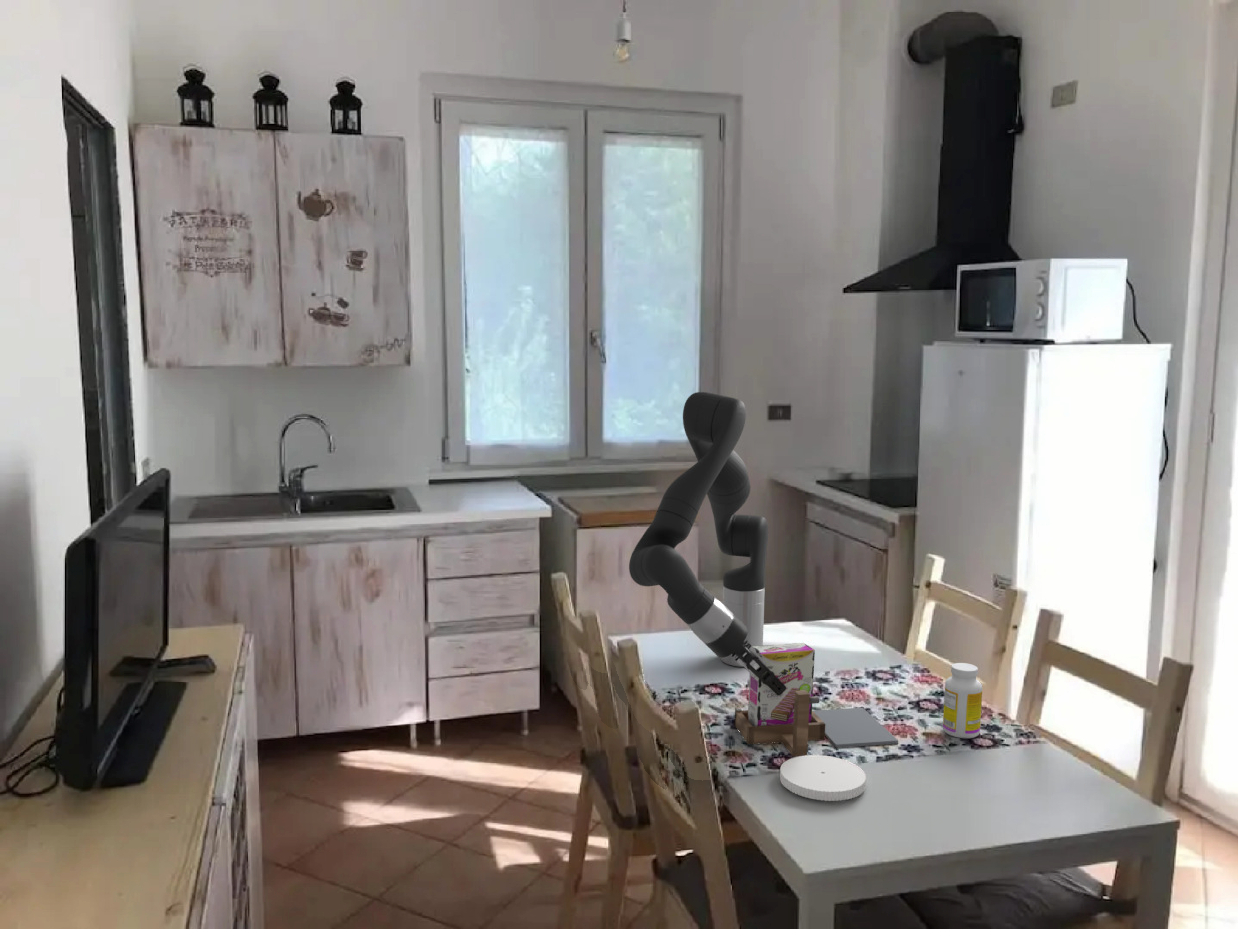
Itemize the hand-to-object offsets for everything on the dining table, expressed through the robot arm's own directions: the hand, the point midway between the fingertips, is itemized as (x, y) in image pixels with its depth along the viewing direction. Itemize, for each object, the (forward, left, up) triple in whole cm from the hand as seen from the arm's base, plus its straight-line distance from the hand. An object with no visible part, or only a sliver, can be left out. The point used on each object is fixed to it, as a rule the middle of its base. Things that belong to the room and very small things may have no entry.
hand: (776, 685), depth 192 cm
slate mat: (0, +15, -9) cm, 17 cm away
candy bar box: (0, +1, -9) cm, 9 cm away
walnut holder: (0, +1, -9) cm, 9 cm away
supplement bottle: (+5, +35, -9) cm, 36 cm away
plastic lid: (+22, +1, -10) cm, 24 cm away
